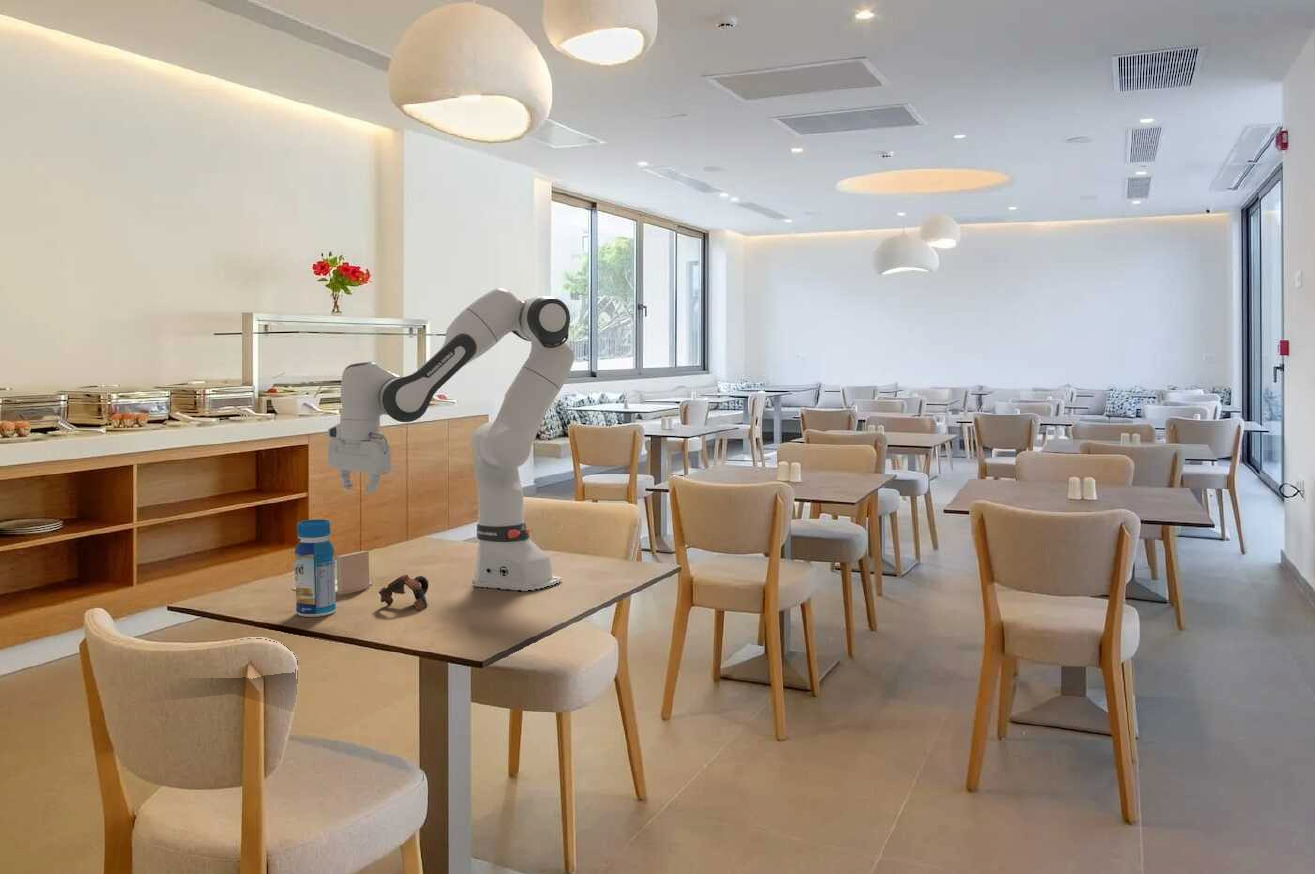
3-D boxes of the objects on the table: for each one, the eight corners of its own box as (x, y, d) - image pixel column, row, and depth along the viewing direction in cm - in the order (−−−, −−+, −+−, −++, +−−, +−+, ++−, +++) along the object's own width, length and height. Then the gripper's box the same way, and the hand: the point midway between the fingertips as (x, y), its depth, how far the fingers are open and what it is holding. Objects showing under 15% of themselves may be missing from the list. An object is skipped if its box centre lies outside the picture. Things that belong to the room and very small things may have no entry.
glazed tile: (369, 588, 237) (368, 551, 237) (342, 594, 231) (341, 556, 230) (364, 587, 238) (364, 550, 238) (337, 593, 232) (336, 556, 231)
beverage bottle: (336, 616, 211) (333, 523, 210) (294, 619, 209) (291, 525, 207) (337, 606, 219) (334, 517, 218) (296, 609, 217) (293, 519, 215)
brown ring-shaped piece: (414, 616, 213) (393, 584, 212) (386, 630, 217) (366, 598, 217) (446, 591, 223) (426, 560, 222) (419, 604, 228) (400, 574, 227)
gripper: (398, 434, 225) (397, 494, 226) (346, 428, 238) (346, 486, 239) (374, 434, 220) (373, 496, 221) (323, 429, 233) (322, 487, 234)
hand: (359, 491), depth 230 cm, fingers open, 8 cm apart
